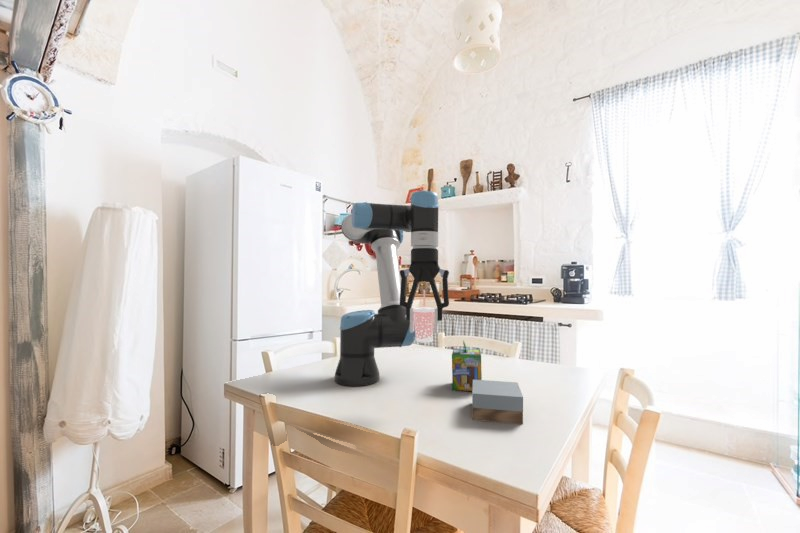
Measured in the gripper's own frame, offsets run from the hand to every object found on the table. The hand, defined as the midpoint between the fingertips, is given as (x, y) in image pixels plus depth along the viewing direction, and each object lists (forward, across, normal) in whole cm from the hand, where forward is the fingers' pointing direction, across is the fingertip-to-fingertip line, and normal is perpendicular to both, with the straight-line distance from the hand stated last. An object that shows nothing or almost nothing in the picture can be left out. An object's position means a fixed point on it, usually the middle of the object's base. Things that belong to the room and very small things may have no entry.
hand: (424, 332), depth 98 cm
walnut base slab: (+21, +19, 0) cm, 28 cm away
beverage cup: (+3, 0, 0) cm, 3 cm away
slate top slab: (+17, +19, -1) cm, 26 cm away
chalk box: (+21, +11, +20) cm, 31 cm away
